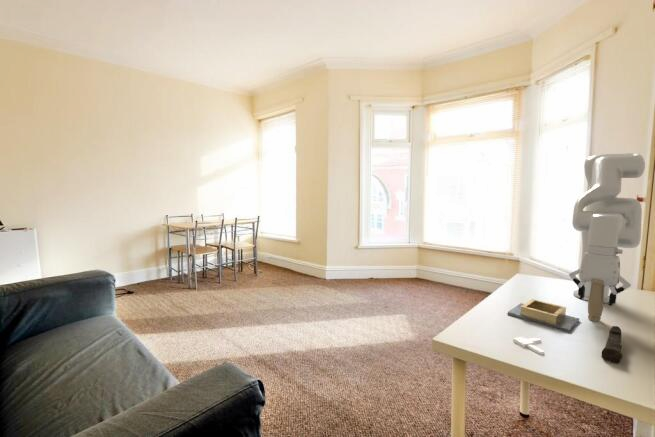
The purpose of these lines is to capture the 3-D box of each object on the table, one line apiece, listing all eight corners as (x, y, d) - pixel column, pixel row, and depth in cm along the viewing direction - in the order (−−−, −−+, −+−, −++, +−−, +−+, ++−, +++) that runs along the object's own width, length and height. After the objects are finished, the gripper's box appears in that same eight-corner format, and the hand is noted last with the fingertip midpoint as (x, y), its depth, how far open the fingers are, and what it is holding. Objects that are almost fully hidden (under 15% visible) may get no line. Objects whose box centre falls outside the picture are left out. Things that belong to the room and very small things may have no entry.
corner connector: (559, 353, 89) (559, 347, 89) (537, 357, 87) (537, 351, 87) (533, 339, 97) (533, 334, 97) (512, 343, 94) (513, 338, 94)
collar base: (520, 305, 122) (521, 295, 121) (579, 321, 108) (580, 310, 108) (507, 314, 113) (508, 303, 113) (569, 332, 100) (570, 320, 99)
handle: (603, 325, 106) (608, 281, 104) (580, 318, 111) (584, 276, 109) (608, 321, 108) (612, 278, 107) (584, 315, 114) (589, 274, 112)
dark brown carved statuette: (620, 366, 82) (622, 349, 82) (600, 360, 85) (602, 343, 84) (627, 342, 95) (629, 327, 94) (609, 337, 98) (611, 323, 97)
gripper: (638, 253, 103) (632, 306, 105) (572, 245, 116) (567, 292, 118) (635, 257, 98) (628, 312, 100) (566, 247, 111) (562, 296, 113)
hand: (596, 301), depth 109 cm, fingers open, 7 cm apart
